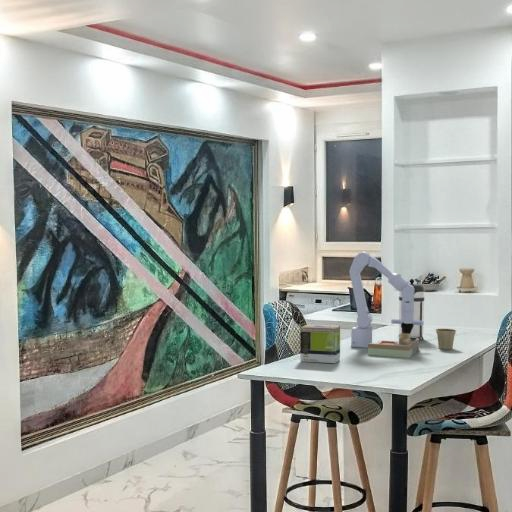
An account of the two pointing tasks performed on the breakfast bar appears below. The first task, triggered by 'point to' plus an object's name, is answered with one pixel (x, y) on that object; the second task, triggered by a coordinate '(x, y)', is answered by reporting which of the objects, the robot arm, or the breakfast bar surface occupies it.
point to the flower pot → (445, 338)
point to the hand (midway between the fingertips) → (407, 340)
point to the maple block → (405, 338)
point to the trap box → (393, 348)
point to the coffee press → (415, 310)
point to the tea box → (320, 343)
